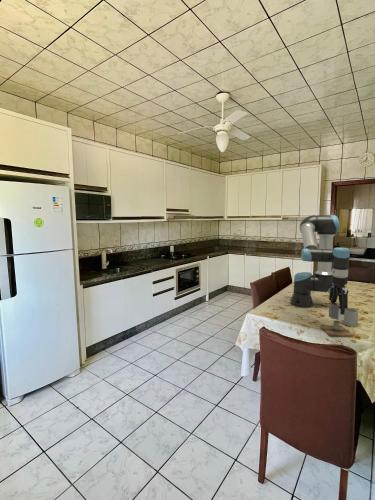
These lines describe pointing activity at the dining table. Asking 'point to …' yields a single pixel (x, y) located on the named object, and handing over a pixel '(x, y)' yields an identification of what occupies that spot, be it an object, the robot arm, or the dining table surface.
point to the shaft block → (336, 330)
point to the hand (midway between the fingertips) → (336, 316)
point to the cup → (351, 317)
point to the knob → (334, 311)
